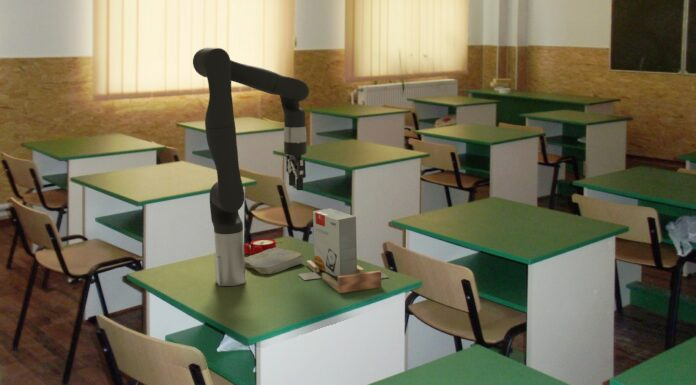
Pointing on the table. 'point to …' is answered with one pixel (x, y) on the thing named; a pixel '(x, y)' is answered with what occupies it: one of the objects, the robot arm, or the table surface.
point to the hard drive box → (335, 242)
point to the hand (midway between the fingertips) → (296, 187)
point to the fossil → (273, 260)
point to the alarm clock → (259, 246)
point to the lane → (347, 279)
